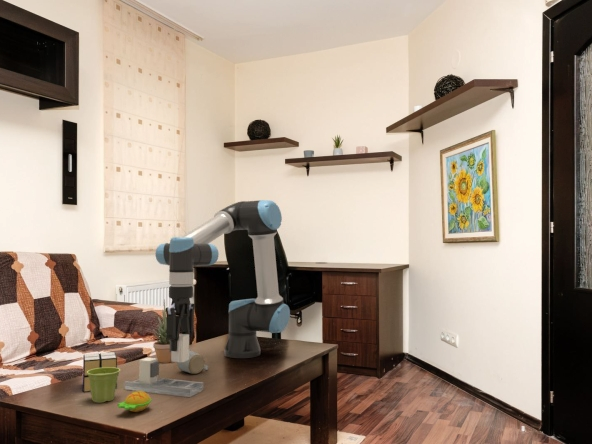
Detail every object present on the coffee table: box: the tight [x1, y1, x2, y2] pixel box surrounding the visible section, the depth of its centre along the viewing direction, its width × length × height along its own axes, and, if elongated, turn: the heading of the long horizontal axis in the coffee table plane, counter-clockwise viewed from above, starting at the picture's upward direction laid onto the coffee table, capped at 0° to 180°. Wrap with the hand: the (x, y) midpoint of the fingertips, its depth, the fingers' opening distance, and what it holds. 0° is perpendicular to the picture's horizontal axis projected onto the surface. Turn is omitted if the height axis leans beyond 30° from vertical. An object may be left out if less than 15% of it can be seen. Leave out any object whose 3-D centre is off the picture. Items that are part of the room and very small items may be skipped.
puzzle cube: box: [82, 351, 118, 393], centre depth 165 cm, size 10×10×10 cm
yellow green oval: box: [116, 391, 152, 413], centre depth 140 cm, size 7×10×5 cm
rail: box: [124, 377, 204, 398], centre depth 161 cm, size 8×24×2 cm, turn 70°
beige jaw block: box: [170, 333, 190, 363], centre depth 160 cm, size 4×5×8 cm
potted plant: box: [152, 299, 171, 364], centre depth 202 cm, size 10×10×25 cm
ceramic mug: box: [176, 349, 209, 375], centre depth 184 cm, size 11×8×8 cm
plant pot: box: [87, 367, 121, 403], centre depth 151 cm, size 9×9×9 cm
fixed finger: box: [138, 357, 160, 384], centre depth 163 cm, size 4×5×8 cm
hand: (180, 359), depth 159 cm, fingers closed on beige jaw block, 4 cm apart
